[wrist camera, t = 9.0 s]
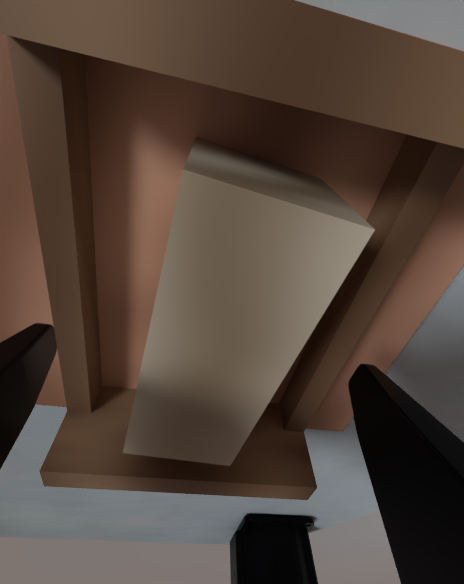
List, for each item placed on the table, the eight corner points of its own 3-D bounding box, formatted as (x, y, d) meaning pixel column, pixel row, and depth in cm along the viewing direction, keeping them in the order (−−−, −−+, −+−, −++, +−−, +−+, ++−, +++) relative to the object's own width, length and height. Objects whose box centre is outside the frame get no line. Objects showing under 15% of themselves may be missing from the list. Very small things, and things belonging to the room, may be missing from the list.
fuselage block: (321, 178, 10) (375, 229, 6) (227, 381, 15) (230, 466, 12) (196, 136, 9) (182, 169, 5) (145, 366, 14) (122, 452, 11)
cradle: (551, 88, 9) (829, 94, 5) (336, 413, 19) (370, 510, 14) (-113, -107, 7) (-672, -427, 3) (22, 382, 16) (-49, 490, 12)
